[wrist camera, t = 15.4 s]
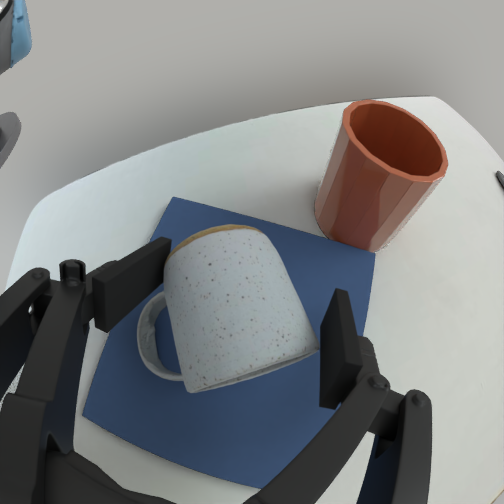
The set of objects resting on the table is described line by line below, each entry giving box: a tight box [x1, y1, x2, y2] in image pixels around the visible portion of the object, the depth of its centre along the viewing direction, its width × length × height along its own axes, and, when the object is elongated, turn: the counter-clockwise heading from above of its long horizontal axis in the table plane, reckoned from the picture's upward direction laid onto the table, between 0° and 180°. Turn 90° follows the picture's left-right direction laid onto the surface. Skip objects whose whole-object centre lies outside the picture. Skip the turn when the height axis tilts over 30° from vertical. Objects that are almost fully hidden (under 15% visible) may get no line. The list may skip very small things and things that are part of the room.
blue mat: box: [82, 197, 375, 489], centre depth 20 cm, size 18×20×1 cm
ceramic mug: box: [137, 224, 320, 393], centre depth 16 cm, size 11×8×8 cm
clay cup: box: [314, 100, 448, 252], centre depth 20 cm, size 8×8×10 cm
